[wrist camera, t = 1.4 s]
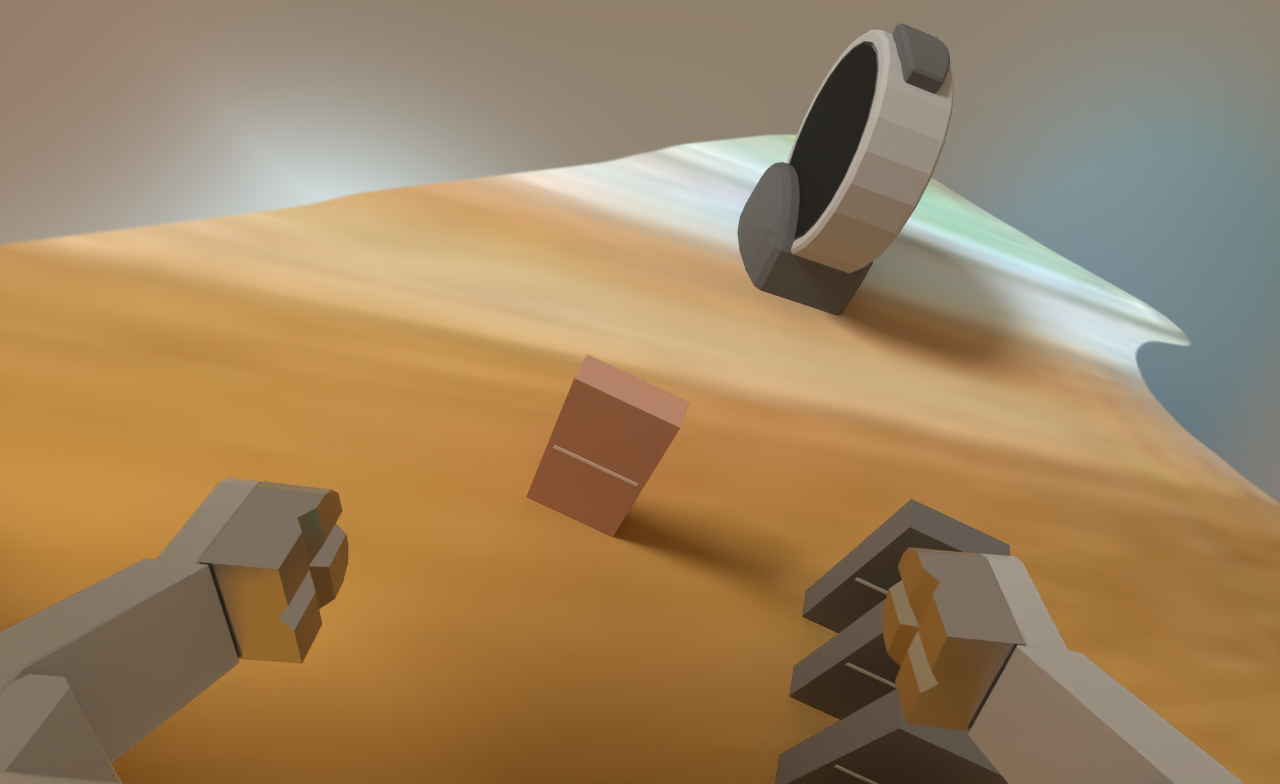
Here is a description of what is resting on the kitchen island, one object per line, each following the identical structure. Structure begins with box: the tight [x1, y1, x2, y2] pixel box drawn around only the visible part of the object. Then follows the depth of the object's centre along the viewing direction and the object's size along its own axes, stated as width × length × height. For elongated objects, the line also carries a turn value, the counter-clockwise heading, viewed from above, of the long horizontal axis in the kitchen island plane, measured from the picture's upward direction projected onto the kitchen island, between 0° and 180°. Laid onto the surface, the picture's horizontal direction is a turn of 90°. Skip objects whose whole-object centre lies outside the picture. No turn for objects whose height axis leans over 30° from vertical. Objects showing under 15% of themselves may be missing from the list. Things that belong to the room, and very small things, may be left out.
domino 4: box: [775, 689, 1009, 784], centre depth 31 cm, size 2×5×10 cm, turn 72°
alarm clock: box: [738, 24, 954, 315], centre depth 55 cm, size 16×10×18 cm, turn 174°
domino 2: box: [802, 499, 1010, 633], centre depth 37 cm, size 2×5×10 cm, turn 72°
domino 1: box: [527, 355, 689, 537], centre depth 36 cm, size 2×5×10 cm, turn 72°
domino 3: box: [789, 599, 901, 720], centre depth 34 cm, size 2×5×10 cm, turn 72°
